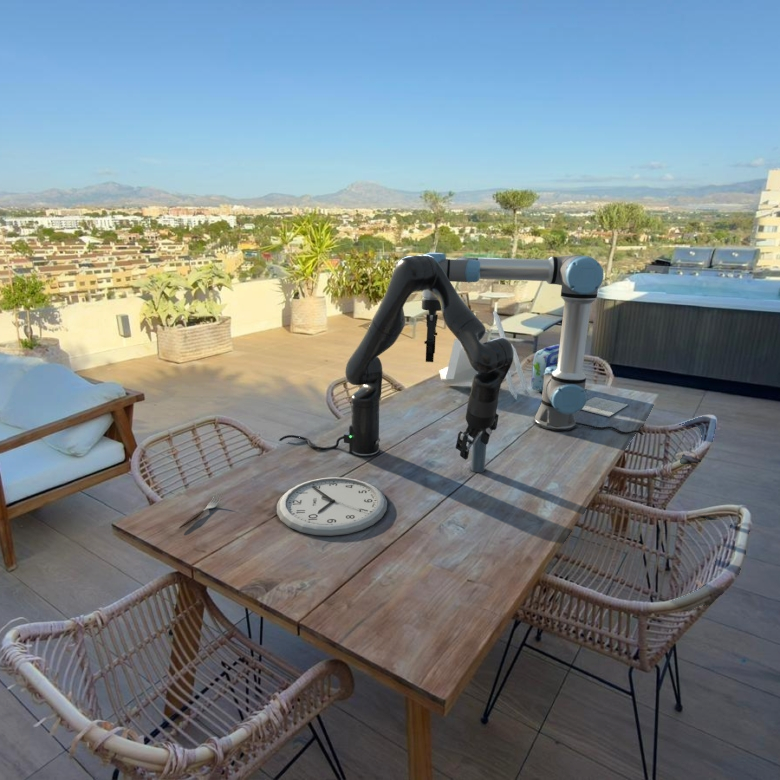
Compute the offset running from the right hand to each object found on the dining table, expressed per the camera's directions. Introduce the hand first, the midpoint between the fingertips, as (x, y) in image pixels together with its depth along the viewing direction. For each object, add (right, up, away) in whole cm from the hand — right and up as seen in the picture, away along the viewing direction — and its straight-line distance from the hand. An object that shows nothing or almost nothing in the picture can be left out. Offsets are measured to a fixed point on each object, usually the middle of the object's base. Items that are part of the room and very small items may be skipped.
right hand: (430, 357), depth 190 cm
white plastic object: (+27, -13, +54) cm, 61 cm away
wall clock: (-30, -43, -47) cm, 71 cm away
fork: (-64, -45, -53) cm, 94 cm away
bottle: (+13, -37, -24) cm, 46 cm away
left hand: (+9, -29, -44) cm, 53 cm away
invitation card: (+77, -19, +37) cm, 87 cm away
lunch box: (+63, -12, +60) cm, 88 cm away
